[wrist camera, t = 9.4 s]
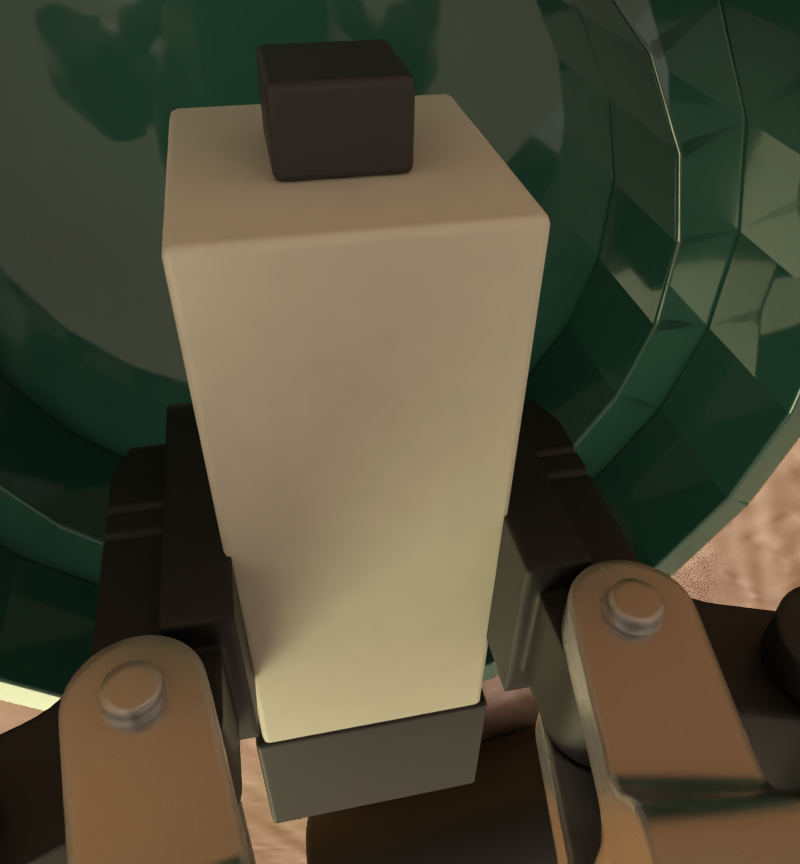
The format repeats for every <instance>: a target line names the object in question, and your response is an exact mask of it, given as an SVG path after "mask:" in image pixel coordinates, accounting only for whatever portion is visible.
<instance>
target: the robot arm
mask: <svg viewBox="0 0 800 864" xmlns="http://www.w3.org/2000/svg"><path fill="white" fill-rule="evenodd" d="M486 638H487V641H488V644H489V646H490V649H491V652H492V655H493V658H494V661H495V664H496V667H497V670H498V673H499V676H500V679H501V682H502V684H503V687H504V690H505V691H510V690H515V689H520V688H526V687H530V689H531V691H532V694H533V697H534V700H535V702H536V705H537V708H538V710H539V714H538V718H537V722H536V729H535V734H536V743H537V748H538V754H539V760H540V765H541V771H542V777H543V782H544V788H545V794H546V799H547V805H548V811H549V816H550V822H551V828H552V833H553V839H554V844H555V850H556V856H557V861H558V864H800V587H798V588H795V589H793V590H792V591H790V592H789V593H787V594H786V595H785V597H784V598H783V599H782V601H781V602H780V604H779V606H778V608H777V610H776V611H770V610H761V609H753V608H745V607H737V606H729V605H720V604H713V603H708V602H703V601H699V600H696V599H693V598H691V597H690V596H689V595H688V593H687V592H686V591H685V590H684V589H683V587H682V586H681V585H680V584H679V583H677V582H676V581H675V580H674V579H672V578H671V577H670V576H668V575H667V574H665V573H663V572H662V571H660V570H658V569H656V568H653V567H651V566H649V565H645V564H642V563H641V562H640V561H639V559H638V558H637V556H636V555H635V553H634V551H633V549H632V548H631V546H630V544H629V542H628V541H627V539H626V537H625V535H624V534H623V532H622V530H621V528H620V527H619V525H618V523H617V521H616V520H615V518H614V516H613V514H612V513H611V511H610V509H609V507H608V506H607V504H606V502H605V500H604V499H603V497H602V495H601V493H600V492H599V490H598V488H597V486H596V485H595V483H594V481H593V479H592V477H591V476H590V475H587V469H586V467H585V465H584V463H583V462H582V460H581V458H580V456H579V455H578V453H575V451H574V446H573V444H572V442H571V441H570V439H569V437H568V435H567V434H566V432H565V430H564V428H563V427H562V425H561V423H560V421H559V420H557V419H556V418H555V417H554V416H552V415H551V414H550V413H548V412H547V411H546V410H545V409H543V408H542V407H541V406H540V405H538V404H537V403H536V402H535V401H533V400H525V401H524V405H523V412H522V418H521V425H520V432H519V439H518V445H517V452H516V459H515V466H514V472H513V479H512V486H511V493H510V499H509V506H508V513H507V515H506V516H504V521H503V528H502V535H501V542H500V549H499V555H498V562H497V569H496V576H495V583H494V590H493V596H492V603H491V610H490V617H489V624H488V631H487V637H486ZM258 736H259V724H258V710H257V697H256V683H255V675H254V670H253V665H252V660H251V655H250V650H249V645H248V640H247V635H246V630H245V625H244V620H243V615H242V610H241V605H240V600H239V595H238V590H237V585H236V580H235V575H234V570H233V565H232V560H231V557H229V556H226V554H225V553H224V551H223V546H222V541H221V537H220V532H219V527H218V522H217V518H216V513H215V508H214V503H213V499H212V494H211V489H210V484H209V479H208V475H207V470H206V465H205V460H204V456H203V451H202V446H201V441H200V437H199V432H198V427H197V422H196V418H195V413H194V408H193V403H192V402H187V403H178V404H169V405H168V406H167V417H166V444H159V445H151V446H143V447H135V448H131V449H130V450H129V452H128V453H127V455H126V456H125V458H124V459H123V461H122V462H121V464H120V465H119V467H118V468H117V470H116V471H115V473H114V474H113V476H112V477H111V483H110V492H109V501H108V516H107V519H106V528H105V543H104V546H103V555H102V564H101V573H100V582H99V591H98V600H97V609H96V618H95V626H94V635H93V643H92V648H91V653H90V656H89V658H88V660H87V661H86V662H85V663H84V664H83V665H82V666H81V667H80V668H79V669H78V671H77V672H76V673H75V674H74V675H73V677H72V678H71V680H70V682H69V683H68V685H67V686H66V689H65V691H64V693H63V696H62V698H60V699H59V700H58V701H57V702H56V703H55V704H53V705H52V706H51V707H50V708H48V709H47V710H45V711H44V712H42V713H41V714H40V715H38V716H37V717H35V718H33V719H31V720H29V721H27V722H25V723H23V724H22V725H19V726H17V727H15V728H13V729H11V730H9V731H6V732H4V733H2V734H0V864H256V862H255V858H254V854H253V849H252V845H251V841H250V837H249V832H248V828H247V824H246V819H245V815H244V811H243V807H242V802H241V794H242V777H241V758H240V740H242V739H247V738H252V737H258Z"/></svg>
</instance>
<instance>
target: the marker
mask: <svg viewBox="0 0 800 864" xmlns="http://www.w3.org/2000/svg"><path fill="white" fill-rule="evenodd" d="M256 63H257V72H258V82H259V92H260V101H261V104H252V105H234V106H215V107H197V108H178V109H176V110H174V111H172V112H171V115H170V121H169V138H168V155H167V172H166V189H165V206H164V223H163V240H162V261H163V265H164V270H165V275H166V280H167V284H168V289H169V294H170V299H171V304H172V308H173V313H174V318H175V323H176V327H177V332H178V337H179V342H180V346H181V351H182V356H183V361H184V365H185V370H186V375H187V380H188V384H189V389H190V394H191V399H192V403H193V408H194V413H195V418H196V422H197V427H198V432H199V437H200V441H201V446H202V451H203V456H204V460H205V465H206V470H207V475H208V479H209V484H210V489H211V494H212V499H213V503H214V508H215V513H216V518H217V522H218V527H219V532H220V537H221V541H222V546H223V551H224V553H225V554H226V556H229V557H231V560H232V565H233V570H234V575H235V580H236V585H237V590H238V595H239V600H240V605H241V610H242V615H243V620H244V625H245V630H246V635H247V640H248V645H249V650H250V655H251V660H252V665H253V670H254V675H255V683H256V697H257V710H258V724H259V736H258V737H256V747H257V751H258V755H259V760H260V764H261V769H262V773H263V778H264V782H265V787H266V791H267V796H268V800H269V804H270V809H271V813H272V818H273V821H274V823H281V822H286V821H290V820H295V819H300V818H305V817H310V816H315V815H320V814H324V813H329V812H334V811H339V810H344V809H349V808H354V807H358V806H363V805H368V804H373V803H378V802H383V801H388V800H392V799H397V798H402V797H407V796H412V795H417V794H422V793H427V792H431V791H436V790H441V789H446V788H451V787H456V786H461V785H465V784H470V783H473V782H474V781H475V774H476V768H477V762H478V756H479V749H480V743H481V737H482V731H483V724H484V718H485V712H486V706H487V702H486V699H485V696H484V692H483V689H482V682H483V675H484V668H485V661H486V655H487V648H488V641H487V638H486V637H487V631H488V624H489V617H490V610H491V603H492V596H493V590H494V583H495V576H496V569H497V562H498V555H499V549H500V542H501V535H502V528H503V521H504V516H506V515H507V513H508V506H509V499H510V493H511V486H512V479H513V472H514V466H515V459H516V452H517V445H518V439H519V432H520V425H521V418H522V412H523V405H524V398H525V391H526V385H527V378H528V371H529V364H530V358H531V351H532V344H533V338H534V331H535V324H536V317H537V311H538V304H539V297H540V290H541V284H542V277H543V270H544V263H545V257H546V250H547V243H548V236H549V230H550V221H549V217H548V215H547V214H546V213H545V211H544V210H543V209H542V208H541V206H540V205H539V204H538V203H537V201H536V200H535V199H534V198H533V197H532V195H531V194H530V193H529V192H528V190H527V189H526V188H525V187H524V185H523V184H522V183H521V182H520V181H519V179H518V178H517V177H516V176H515V174H514V173H513V172H512V171H511V169H510V168H509V167H508V166H507V164H506V163H505V162H504V161H503V160H502V158H501V157H500V156H499V155H498V153H497V152H496V151H495V150H494V148H493V147H492V146H491V145H490V144H489V142H488V141H487V140H486V139H485V137H484V136H483V135H482V134H481V132H480V131H479V130H478V129H477V127H476V126H475V125H474V124H473V123H472V121H471V120H470V119H469V118H468V116H467V115H466V114H465V113H464V111H463V110H462V109H461V108H460V107H459V105H458V104H457V103H456V102H455V100H454V99H453V98H452V97H451V96H449V95H447V94H437V95H418V96H415V81H414V78H413V76H412V75H411V73H410V72H409V70H408V69H407V68H406V66H405V65H404V64H403V62H402V61H401V60H400V58H399V57H398V56H397V54H396V53H395V51H394V50H393V49H392V47H391V46H390V45H389V43H388V42H386V41H384V40H359V41H335V42H311V43H287V44H263V45H261V46H259V47H257V51H256Z"/></svg>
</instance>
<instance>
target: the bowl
mask: <svg viewBox="0 0 800 864" xmlns="http://www.w3.org/2000/svg"><path fill="white" fill-rule="evenodd" d="M359 40H384V41H386V42H388V43H389V45H390V46H391V47H392V49H393V50H394V51H395V53H396V54H397V56H398V57H399V58H400V60H401V61H402V62H403V64H404V65H405V66H406V68H407V69H408V70H409V72H410V73H411V75H412V76H413V78H414V81H415V96H418V95H437V94H447V95H449V96H451V97H452V98H453V99H454V100H455V102H456V103H457V104H458V105H459V107H460V108H461V109H462V110H463V111H464V113H465V114H466V115H467V116H468V118H469V119H470V120H471V121H472V123H473V124H474V125H475V126H476V127H477V129H478V130H479V131H480V132H481V134H482V135H483V136H484V137H485V139H486V140H487V141H488V142H489V144H490V145H491V146H492V147H493V148H494V150H495V151H496V152H497V153H498V155H499V156H500V157H501V158H502V160H503V161H504V162H505V163H506V164H507V166H508V167H509V168H510V169H511V171H512V172H513V173H514V174H515V176H516V177H517V178H518V179H519V181H520V182H521V183H522V184H523V185H524V187H525V188H526V189H527V190H528V192H529V193H530V194H531V195H532V197H533V198H534V199H535V200H536V201H537V203H538V204H539V205H540V206H541V208H542V209H543V210H544V211H545V213H546V214H547V215H548V217H549V221H550V230H549V236H548V243H547V250H546V257H545V263H544V270H543V277H542V284H541V290H540V297H539V304H538V311H537V317H536V324H535V331H534V338H533V344H532V351H531V358H530V364H529V371H528V378H527V385H526V391H525V398H524V401H525V400H533V401H535V402H536V403H537V404H538V405H540V406H541V407H542V408H543V409H545V410H546V411H547V412H548V413H550V414H551V415H552V416H554V417H555V418H556V419H557V420H559V421H560V423H561V425H562V427H563V428H564V430H565V432H566V434H567V435H568V437H569V439H570V441H571V442H572V444H573V446H574V451H575V453H578V455H579V456H580V458H581V460H582V462H583V463H584V465H585V467H586V469H587V475H590V476H591V477H592V479H593V481H594V483H595V485H596V486H597V488H598V490H599V492H600V493H601V495H602V497H603V499H604V500H605V502H606V504H607V506H608V507H609V509H610V511H611V513H612V514H613V516H614V518H615V520H616V521H617V523H618V525H619V527H620V528H621V530H622V532H623V534H624V535H625V537H626V539H627V541H628V542H629V544H630V546H631V548H632V549H633V551H634V553H635V555H636V556H637V558H638V559H639V561H640V562H641V563H642V564H645V565H649V566H651V567H653V568H656V569H658V570H660V571H662V572H663V573H665V574H667V575H668V576H670V577H671V575H673V574H675V573H676V572H677V571H678V570H679V569H680V568H681V567H682V566H683V565H684V564H685V563H686V562H687V561H689V560H690V559H691V558H692V557H693V556H694V555H695V554H696V553H697V552H698V551H699V550H700V549H701V548H703V547H704V546H705V545H706V544H707V543H708V542H709V541H710V540H711V539H712V538H713V537H714V536H715V535H716V534H718V533H719V532H720V531H721V530H722V529H723V528H724V527H725V526H726V525H727V524H728V523H729V522H730V521H732V520H733V519H734V518H735V517H736V516H737V515H738V514H739V513H740V512H741V511H742V510H743V509H744V508H746V507H747V506H748V504H749V503H748V502H750V501H752V500H753V498H754V497H755V496H756V494H757V493H758V492H759V491H760V489H761V488H762V487H763V485H764V484H765V483H766V481H767V480H768V479H769V477H770V476H771V475H772V473H773V472H774V471H775V469H776V468H777V467H778V465H779V464H780V463H781V461H782V460H783V459H784V457H785V456H786V455H787V454H788V452H789V451H790V450H791V448H792V447H793V446H794V444H795V443H796V442H797V440H798V439H799V438H800V0H0V701H4V702H8V703H12V704H16V705H20V706H24V707H29V708H33V709H37V710H41V711H45V710H47V709H48V708H50V707H51V706H52V705H53V704H55V703H56V702H57V701H58V700H59V699H60V698H62V696H63V693H64V691H65V689H66V686H67V685H68V683H69V682H70V680H71V678H72V677H73V675H74V674H75V673H76V672H77V671H78V669H79V668H80V667H81V666H82V665H83V664H84V663H85V662H86V661H87V660H88V658H89V656H90V653H91V648H92V643H93V635H94V626H95V618H96V609H97V600H98V591H99V582H100V573H101V564H102V555H103V546H104V543H105V528H106V519H107V516H108V501H109V492H110V483H111V477H112V476H113V474H114V473H115V471H116V470H117V468H118V467H119V465H120V464H121V462H122V461H123V459H124V458H125V456H126V455H127V453H128V452H129V450H130V449H131V448H135V447H143V446H151V445H159V444H166V417H167V406H168V405H169V404H178V403H187V402H192V399H191V394H190V389H189V384H188V380H187V375H186V370H185V365H184V361H183V356H182V351H181V346H180V342H179V337H178V332H177V327H176V323H175V318H174V313H173V308H172V304H171V299H170V294H169V289H168V284H167V280H166V275H165V270H164V265H163V261H162V240H163V223H164V206H165V189H166V172H167V155H168V138H169V121H170V115H171V112H172V111H174V110H176V109H178V108H197V107H215V106H234V105H252V104H261V101H260V92H259V82H258V72H257V63H256V51H257V47H259V46H261V45H263V44H287V43H311V42H335V41H359ZM496 675H499V673H498V670H497V667H496V664H495V661H494V658H493V655H492V652H491V649H490V646H489V644H488V648H487V655H486V661H485V668H484V675H483V681H485V680H488V679H491V678H494V677H496Z"/></svg>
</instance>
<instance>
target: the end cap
mask: <svg viewBox="0 0 800 864" xmlns="http://www.w3.org/2000/svg"><path fill="white" fill-rule="evenodd" d="M535 729H536V726H535V727H532V728H529V729H525V730H522V731H519V732H516V733H512V734H509V735H506V736H503V737H499V738H496V739H493V740H490V741H486V742H483V743H480V749H479V756H478V762H477V768H476V774H475V781H474V782H473V783H470V784H465V785H461V786H456V787H451V788H446V789H441V790H436V791H431V792H427V793H422V794H417V795H412V796H407V797H402V798H397V799H392V800H388V801H383V802H378V803H373V804H368V805H363V806H358V807H354V808H349V809H344V810H339V811H334V812H329V813H324V814H320V815H315V816H310V817H308V821H307V827H306V855H307V864H558V861H557V856H556V850H555V844H554V839H553V833H552V828H551V822H550V816H549V811H548V805H547V799H546V794H545V788H544V782H543V777H542V771H541V765H540V760H539V754H538V748H537V743H536V734H535Z"/></svg>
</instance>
